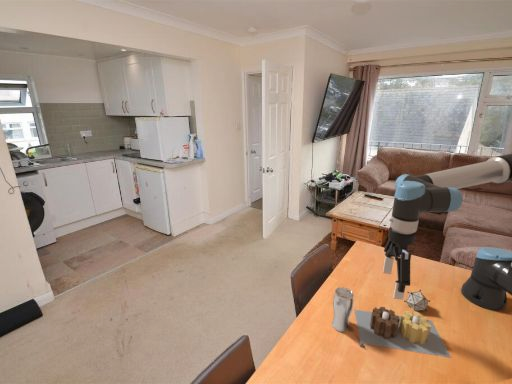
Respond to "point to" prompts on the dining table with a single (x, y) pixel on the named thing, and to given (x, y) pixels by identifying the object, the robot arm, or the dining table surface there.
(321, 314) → the dining table surface
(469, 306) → the dining table surface
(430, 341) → the gear board
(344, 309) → the beer glass
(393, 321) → the walnut gear
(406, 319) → the gear
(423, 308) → the game die
